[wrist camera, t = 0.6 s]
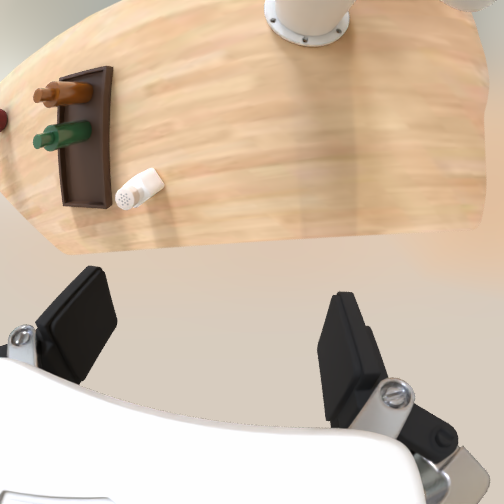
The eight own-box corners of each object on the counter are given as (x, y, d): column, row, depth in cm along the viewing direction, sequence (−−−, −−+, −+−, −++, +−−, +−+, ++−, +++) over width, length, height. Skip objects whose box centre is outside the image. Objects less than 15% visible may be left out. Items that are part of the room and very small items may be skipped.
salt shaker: (137, 178, 42) (107, 195, 34) (154, 165, 41) (126, 179, 32) (149, 197, 43) (123, 218, 35) (166, 185, 42) (142, 203, 34)
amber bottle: (76, 84, 33) (30, 85, 23) (94, 80, 33) (47, 78, 22) (75, 106, 35) (28, 111, 25) (92, 102, 35) (45, 106, 24)
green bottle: (74, 120, 36) (28, 129, 26) (92, 118, 36) (45, 125, 26) (75, 142, 38) (29, 156, 28) (91, 141, 38) (46, 154, 28)
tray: (66, 78, 33) (59, 77, 31) (113, 66, 33) (106, 65, 31) (69, 202, 45) (62, 206, 43) (112, 204, 44) (106, 208, 43)
